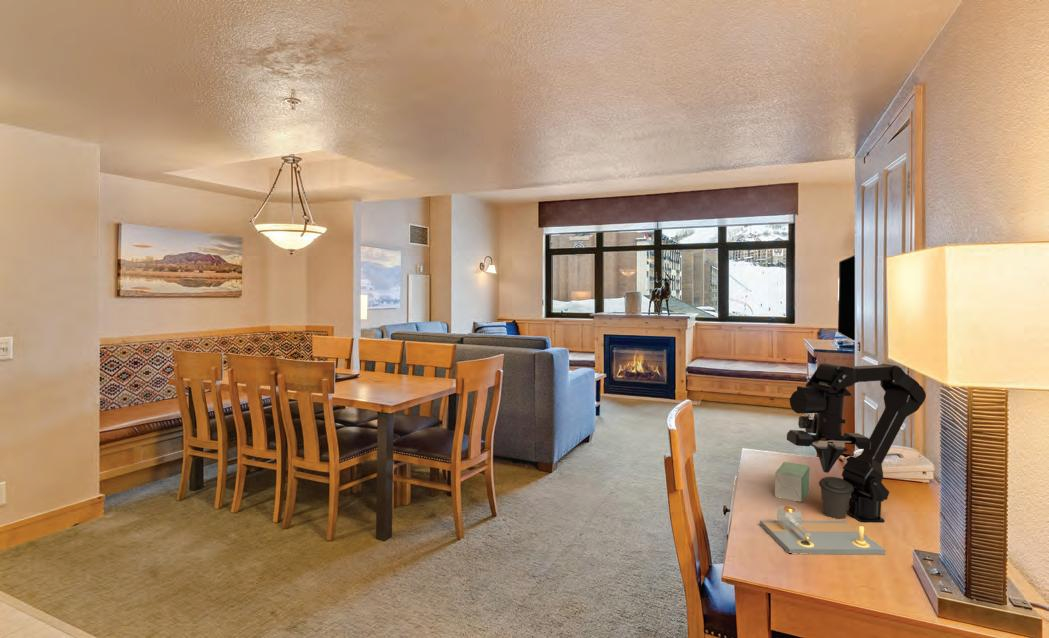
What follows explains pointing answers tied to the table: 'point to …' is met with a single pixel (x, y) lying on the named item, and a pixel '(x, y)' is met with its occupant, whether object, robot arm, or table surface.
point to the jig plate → (824, 538)
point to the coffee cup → (835, 496)
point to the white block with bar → (791, 520)
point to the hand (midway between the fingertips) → (825, 472)
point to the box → (792, 481)
